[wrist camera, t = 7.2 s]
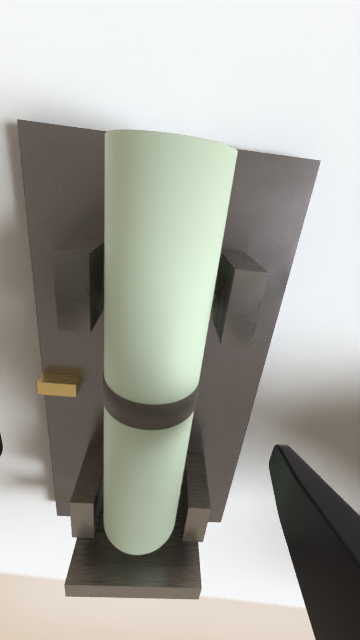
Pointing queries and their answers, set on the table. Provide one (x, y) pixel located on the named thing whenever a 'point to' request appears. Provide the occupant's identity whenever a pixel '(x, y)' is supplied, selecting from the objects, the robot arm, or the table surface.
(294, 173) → the saddle plate
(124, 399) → the tube
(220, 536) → the table surface
